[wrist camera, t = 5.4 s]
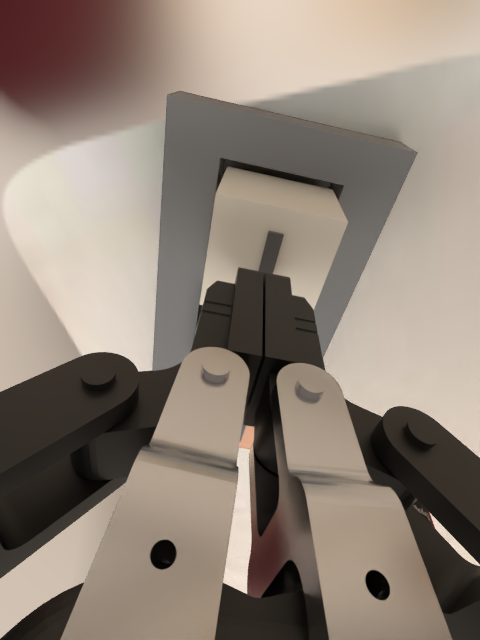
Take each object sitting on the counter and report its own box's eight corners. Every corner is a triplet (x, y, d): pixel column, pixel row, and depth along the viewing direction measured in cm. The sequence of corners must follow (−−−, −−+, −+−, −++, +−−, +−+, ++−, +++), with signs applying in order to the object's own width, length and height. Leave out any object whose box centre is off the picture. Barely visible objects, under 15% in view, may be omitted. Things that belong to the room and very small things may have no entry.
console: (400, 142, 14) (417, 152, 12) (279, 425, 25) (280, 450, 24) (179, 90, 13) (167, 94, 12) (157, 402, 25) (149, 426, 23)
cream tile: (332, 189, 14) (348, 223, 11) (301, 280, 16) (307, 328, 13) (227, 166, 13) (215, 194, 10) (212, 261, 16) (198, 306, 13)
